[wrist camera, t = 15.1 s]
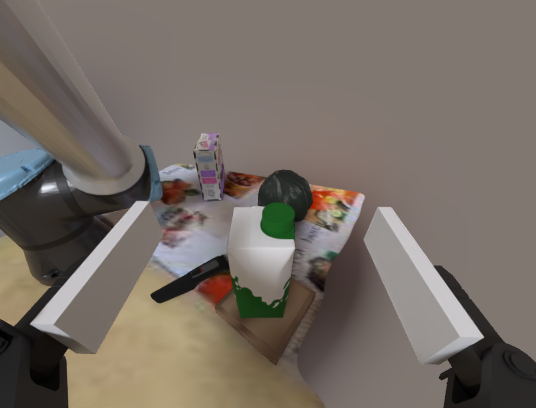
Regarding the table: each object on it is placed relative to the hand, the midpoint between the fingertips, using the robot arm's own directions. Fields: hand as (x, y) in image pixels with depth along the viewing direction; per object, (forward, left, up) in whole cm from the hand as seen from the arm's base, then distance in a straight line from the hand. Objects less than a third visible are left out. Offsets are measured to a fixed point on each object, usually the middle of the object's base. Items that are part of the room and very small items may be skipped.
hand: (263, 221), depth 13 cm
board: (-5, +8, -30) cm, 31 cm away
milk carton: (-6, +8, -28) cm, 30 cm away
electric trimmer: (-20, +4, -30) cm, 36 cm away
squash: (-17, +32, -30) cm, 47 cm away
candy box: (-42, +29, -30) cm, 60 cm away
